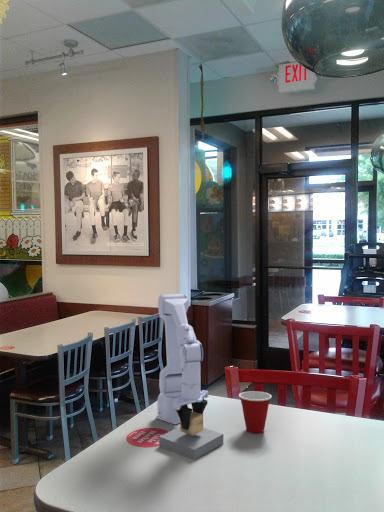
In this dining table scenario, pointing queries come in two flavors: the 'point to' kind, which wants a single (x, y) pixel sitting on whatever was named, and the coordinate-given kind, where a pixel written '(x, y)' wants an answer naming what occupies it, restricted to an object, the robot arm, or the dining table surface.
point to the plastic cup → (255, 410)
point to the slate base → (191, 442)
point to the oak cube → (194, 424)
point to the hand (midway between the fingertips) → (191, 426)
